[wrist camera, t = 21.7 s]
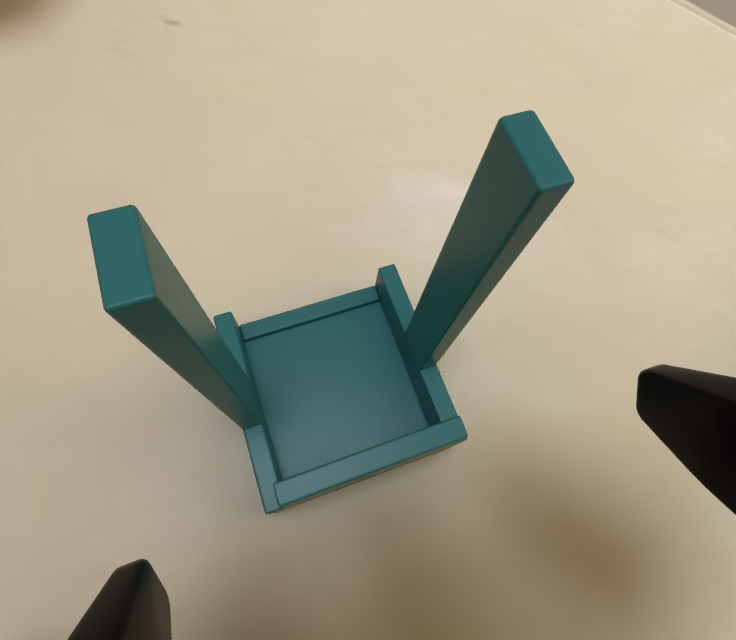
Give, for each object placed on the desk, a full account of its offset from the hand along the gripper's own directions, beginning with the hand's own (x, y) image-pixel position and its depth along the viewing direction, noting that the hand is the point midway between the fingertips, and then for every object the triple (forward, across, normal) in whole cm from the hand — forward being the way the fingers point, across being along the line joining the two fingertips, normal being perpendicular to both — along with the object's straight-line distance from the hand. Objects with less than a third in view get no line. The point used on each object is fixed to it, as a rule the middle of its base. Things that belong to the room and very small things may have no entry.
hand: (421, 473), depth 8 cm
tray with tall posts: (+11, 0, +5) cm, 12 cm away
